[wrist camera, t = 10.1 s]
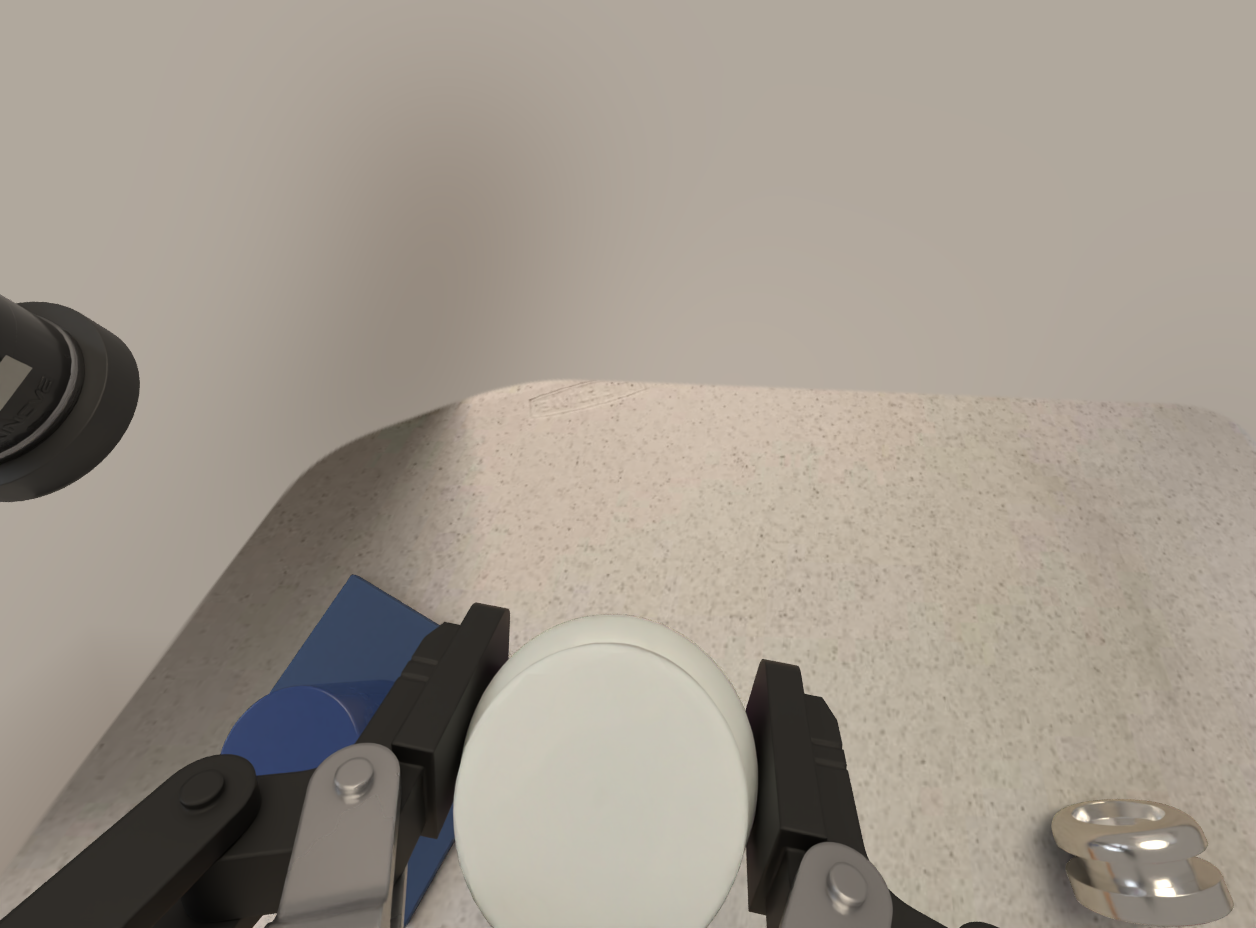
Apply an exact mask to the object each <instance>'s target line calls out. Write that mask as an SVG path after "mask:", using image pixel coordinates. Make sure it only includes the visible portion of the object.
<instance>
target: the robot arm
mask: <svg viewBox="0 0 1256 928" xmlns="http://www.w3.org/2000/svg"><path fill="white" fill-rule="evenodd" d="M83 379H84V359H83V355H82V352H81V349H80V347H79V345H78V343H77V342H76V340H75V339H74V338H73V337H72V336H71V335H70V334H69V333H68V332H67V331H66V330H64V329H63V328H61V327H59V326H58V325H56V324H54V323H53V322H51V321H49V320H47V319H45V318H43V317H40V316H37V315H35V314H33V313H31V312H29V311H28V310H26V309H24V308H23V307H21V306H19V305H17V304H16V303H14V302H12V301H10V300H9V299H7V298H5V297H4V296H2V295H0V464H1V463H5V462H7V461H10V460H12V459H15V458H17V457H19V456H21V455H23V454H25V453H26V452H28V451H30V450H32V449H33V448H35V447H36V446H38V445H39V444H40V443H42V442H43V441H44V440H45V439H47V438H48V437H49V436H50V435H51V434H52V433H53V432H54V431H55V430H56V429H57V428H58V427H59V426H60V425H61V424H62V422H63V421H64V420H65V419H66V417H67V416H68V415H69V413H70V412H71V410H72V408H73V407H74V405H75V403H76V401H77V399H78V396H79V394H80V391H81V388H82V385H83ZM509 628H510V611H509V609H507V608H502V607H496V606H491V605H486V604H481V603H474V604H473V605H472V606H471V608H470V609H469V611H468V613H467V614H466V616H465V618H464V620H463V621H462V623H461V625H457V624H452V623H447V622H444V623H443V624H441V625H440V626H439V627H437V628H436V629H435V630H433V631H432V632H431V633H429V634H428V635H426V636H425V637H424V638H423V640H422V641H421V643H420V644H419V646H418V648H417V649H416V651H415V652H414V654H413V655H412V658H411V660H410V661H408V663H407V664H406V666H405V668H404V669H403V671H402V672H401V676H400V677H398V678H397V680H396V681H395V683H394V684H393V686H392V688H391V689H390V691H389V692H388V694H387V695H386V697H385V698H384V700H383V701H382V703H381V705H380V706H379V708H378V709H377V711H376V712H375V714H374V715H373V717H372V718H371V720H370V721H369V723H368V725H367V726H366V728H365V729H364V731H363V732H362V734H361V735H360V737H359V738H358V739H357V741H356V742H355V743H354V744H353V745H350V746H347V747H345V748H342V749H340V750H338V751H336V752H335V753H333V754H332V755H330V756H329V757H328V758H326V759H325V760H324V761H323V762H322V763H321V764H320V765H319V766H318V767H317V768H313V769H310V770H305V771H298V772H288V773H278V774H268V775H258V776H256V772H255V769H254V767H253V765H252V764H251V763H250V762H249V761H248V760H247V759H245V758H244V757H241V756H238V755H233V754H220V755H213V756H209V757H206V758H203V759H200V760H197V761H195V762H193V763H191V764H189V765H187V766H185V767H184V768H182V769H181V770H179V771H178V772H176V773H175V774H174V775H172V776H171V777H170V778H169V779H167V780H166V781H165V782H164V783H163V784H161V785H160V786H159V787H158V788H157V789H156V790H154V791H153V792H152V793H151V794H150V795H148V796H147V797H146V798H145V799H144V800H143V801H141V802H140V803H139V804H138V805H137V806H135V807H134V808H133V809H132V810H131V811H129V812H128V813H127V814H126V815H125V816H124V817H122V818H121V819H120V820H119V821H118V822H116V823H115V824H114V825H113V826H112V827H111V828H109V829H108V830H107V831H106V832H105V833H103V834H102V835H101V836H100V837H99V838H97V839H96V840H95V841H94V842H93V843H92V844H90V845H89V846H88V847H87V848H86V849H84V850H83V851H82V852H81V853H80V854H79V855H77V856H76V857H75V858H74V859H73V860H71V861H70V862H69V863H68V864H67V865H65V866H64V867H63V868H62V869H61V870H60V871H58V872H57V873H56V874H55V875H54V876H52V877H51V878H50V879H49V880H48V881H47V882H45V883H44V884H43V885H42V886H41V887H39V888H38V889H37V890H36V891H35V892H33V893H32V894H31V895H30V896H29V897H28V898H26V899H25V900H24V901H23V902H22V903H20V904H19V905H18V906H17V907H16V908H15V909H13V910H12V911H11V912H10V913H9V914H7V915H6V916H5V917H4V918H3V919H1V920H0V928H253V926H254V925H255V924H256V923H257V922H258V920H259V919H260V918H261V917H262V916H263V915H267V914H274V913H277V915H276V917H275V919H274V921H273V922H270V923H268V924H267V925H266V926H265V928H403V927H404V913H405V899H406V885H407V871H408V861H409V859H410V857H411V854H412V852H413V850H414V848H415V846H416V843H417V841H418V839H419V837H420V836H424V837H428V838H433V839H437V838H438V836H439V834H440V831H441V829H442V827H443V824H444V822H445V820H446V818H447V815H448V813H449V811H450V808H451V806H452V804H453V801H454V792H455V785H456V779H457V775H458V771H459V767H460V763H461V757H462V751H463V746H464V741H465V737H466V734H467V730H468V727H469V724H470V721H471V718H472V716H473V714H474V711H475V709H476V707H477V705H478V703H479V701H480V699H481V697H482V695H483V693H484V691H485V690H486V688H487V686H488V685H489V683H490V682H491V680H492V679H493V677H494V676H495V675H496V674H497V672H498V671H499V670H500V668H501V667H502V666H503V665H504V664H505V663H506V661H507V660H508V653H509ZM745 712H746V714H747V717H748V720H749V723H750V726H751V730H752V733H753V738H754V742H755V748H756V754H757V762H758V795H757V805H756V813H755V818H754V822H753V826H752V829H751V833H750V836H749V839H748V842H747V845H746V855H747V882H748V909H749V912H754V913H758V914H762V915H766V921H767V928H947V927H946V926H944V925H942V924H940V923H939V922H937V921H935V920H933V919H931V918H930V917H928V916H926V915H924V914H922V913H921V912H919V911H917V910H915V909H914V908H912V907H910V906H909V905H907V904H906V903H904V902H903V901H902V900H900V899H899V898H898V897H897V896H895V895H894V894H893V893H892V892H891V891H890V890H889V889H888V887H887V885H886V883H885V881H884V879H883V877H882V876H881V874H880V873H879V872H878V870H877V869H876V867H875V866H874V865H873V864H872V863H871V862H870V861H869V859H868V857H867V854H866V851H865V847H864V843H863V839H862V834H861V829H860V825H859V820H858V815H857V811H856V806H855V801H854V797H853V792H852V787H851V783H850V778H849V773H848V770H846V766H847V764H846V759H845V755H844V750H842V741H841V736H840V731H839V727H838V722H837V719H836V718H835V716H834V715H833V713H832V712H831V710H830V709H829V707H828V705H827V704H826V702H825V701H824V699H823V698H822V697H818V696H813V695H807V694H804V689H803V683H802V677H801V671H800V668H799V666H796V665H791V664H786V663H781V662H776V661H771V660H766V659H762V660H761V662H760V664H759V667H758V671H757V674H756V677H755V681H754V684H753V687H752V691H751V694H750V697H749V701H748V704H747V708H746V711H745ZM960 928H998V927H996V926H994V925H991V924H987V923H984V922H969V923H966V924H964V925H962V926H961V927H960Z"/></svg>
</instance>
